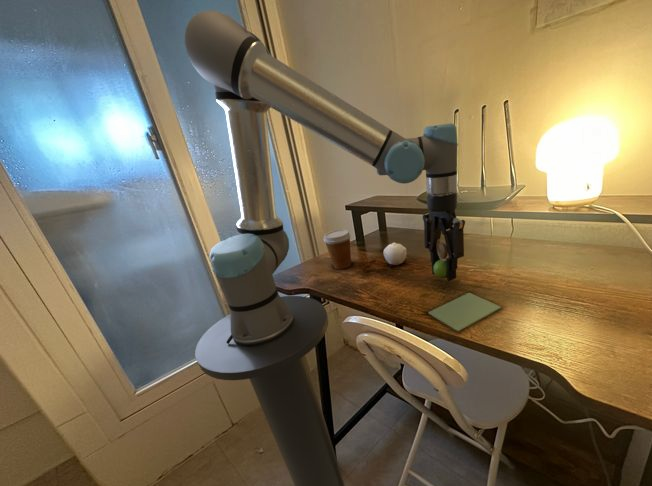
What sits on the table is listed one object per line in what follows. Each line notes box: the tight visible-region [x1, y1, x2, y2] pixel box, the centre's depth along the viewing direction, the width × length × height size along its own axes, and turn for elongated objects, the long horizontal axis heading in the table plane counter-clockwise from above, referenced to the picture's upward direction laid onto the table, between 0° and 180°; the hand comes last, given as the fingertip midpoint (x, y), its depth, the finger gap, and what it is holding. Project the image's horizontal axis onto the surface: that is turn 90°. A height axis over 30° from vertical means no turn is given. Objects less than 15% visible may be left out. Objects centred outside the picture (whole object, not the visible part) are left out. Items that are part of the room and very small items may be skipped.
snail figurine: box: [433, 238, 448, 279], centre depth 84 cm, size 5×6×12 cm
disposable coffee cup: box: [323, 229, 352, 270], centre depth 106 cm, size 10×10×12 cm
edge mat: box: [427, 292, 502, 333], centre depth 73 cm, size 14×10×1 cm
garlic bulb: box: [382, 242, 408, 266], centre depth 102 cm, size 8×8×8 cm
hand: (443, 275), depth 86 cm, fingers closed on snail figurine, 5 cm apart
